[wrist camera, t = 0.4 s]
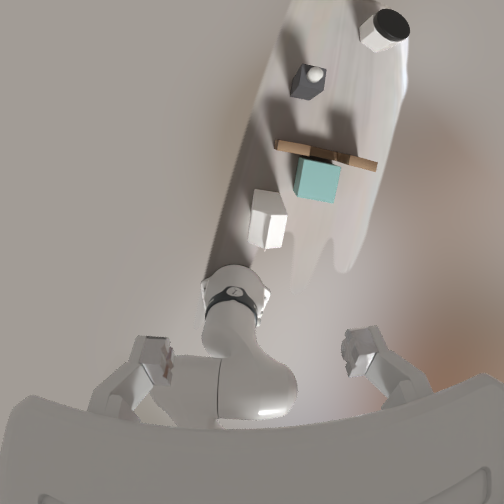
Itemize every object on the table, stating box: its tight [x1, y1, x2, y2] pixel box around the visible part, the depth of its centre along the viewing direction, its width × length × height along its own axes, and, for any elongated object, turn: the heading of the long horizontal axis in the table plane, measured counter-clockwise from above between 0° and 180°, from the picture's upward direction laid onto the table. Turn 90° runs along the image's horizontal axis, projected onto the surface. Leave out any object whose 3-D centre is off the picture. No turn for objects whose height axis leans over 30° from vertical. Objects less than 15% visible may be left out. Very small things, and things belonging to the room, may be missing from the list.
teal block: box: [293, 157, 341, 203], centre depth 57 cm, size 8×8×7 cm
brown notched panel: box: [274, 140, 378, 172], centre depth 52 cm, size 2×20×12 cm, turn 82°
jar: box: [359, 9, 410, 53], centre depth 39 cm, size 9×8×12 cm
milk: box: [247, 189, 288, 251], centre depth 53 cm, size 6×6×22 cm
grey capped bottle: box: [290, 64, 326, 100], centre depth 44 cm, size 4×4×17 cm
